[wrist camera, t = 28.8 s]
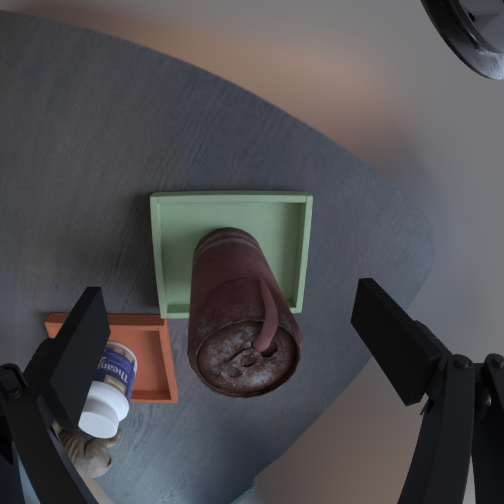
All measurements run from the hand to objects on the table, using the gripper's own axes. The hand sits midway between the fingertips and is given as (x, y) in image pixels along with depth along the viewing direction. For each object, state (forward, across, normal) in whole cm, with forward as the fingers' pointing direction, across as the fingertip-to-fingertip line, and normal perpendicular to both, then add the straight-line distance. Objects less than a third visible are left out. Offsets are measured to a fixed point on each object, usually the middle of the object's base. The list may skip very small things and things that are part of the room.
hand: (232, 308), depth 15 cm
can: (+13, 0, -2) cm, 13 cm away
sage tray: (+13, +1, -2) cm, 13 cm away
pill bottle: (+13, -12, -14) cm, 23 cm away
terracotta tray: (+13, -12, -14) cm, 23 cm away
